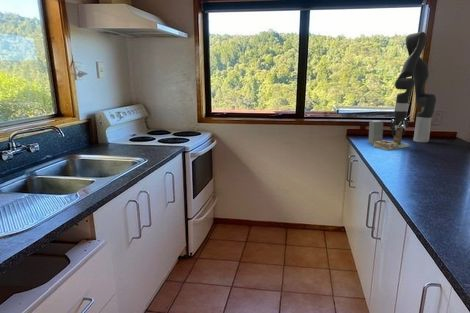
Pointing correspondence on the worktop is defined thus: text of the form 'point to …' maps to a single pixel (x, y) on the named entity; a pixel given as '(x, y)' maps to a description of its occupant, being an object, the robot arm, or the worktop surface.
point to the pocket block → (386, 145)
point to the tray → (403, 145)
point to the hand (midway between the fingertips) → (397, 135)
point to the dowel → (398, 135)
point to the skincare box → (375, 131)
